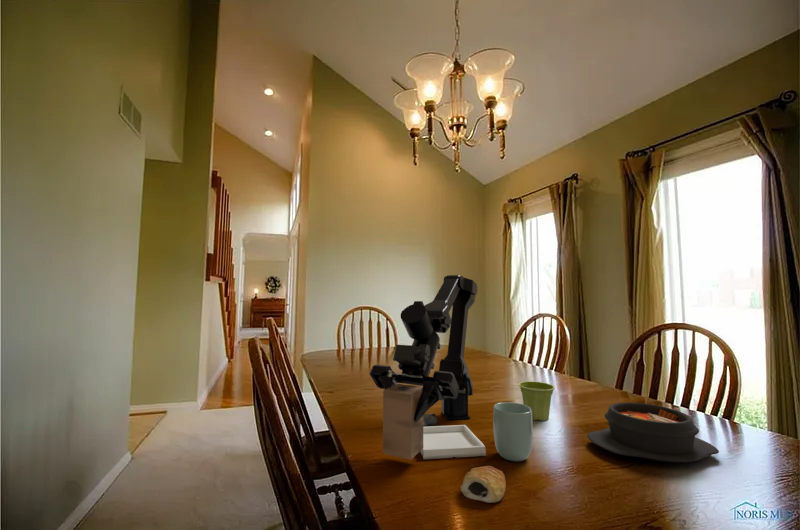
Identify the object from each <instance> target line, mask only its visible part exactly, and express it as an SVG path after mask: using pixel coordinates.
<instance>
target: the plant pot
mask: <svg viewBox="0 0 800 530" xmlns="http://www.w3.org/2000/svg"><path fill="white" fill-rule="evenodd" d="M518 386H519V388H520V392H521V395H522V402H523V403H522V404H523V405H526V406H528V407H530V408H531V410H532V421H537V420H539V421H541V422H543V421H548V420H549V419H550V411H551V402H552V395H553V393H554V390H555V388H556V387H555V386H554V385H553V384H550V383H548V382H543V381H535V380H534V381H532V380H529V381H527V380H525V381H521V382H519V383H518Z"/></svg>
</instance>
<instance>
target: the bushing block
mask: <svg viewBox="0 0 800 530" xmlns="http://www.w3.org/2000/svg"><path fill="white" fill-rule="evenodd" d="M422 391H423V386H418V385H410V384H404V383H398V384H396V385H394V386H392V387H389V388H387V389H383V392H382V393H383V396H382V397H383V398H382V399H383V402H382V403H383V405H382V407H383V408H382V409H383V411H382V454H383V455H388V456H392V457H396V458H401V459H405V460H410V461H411V460H412V459H414V457H416V456H417V455H418V453H420V451H421V450H422V449H423V416H424V415H423V416H422V417H421V418H420V419H419V420H418V421H417V422H415V420H414V416H415V412H416V409H417V406H418V403H419V400H420V397H421V395H422Z"/></svg>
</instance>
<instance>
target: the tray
mask: <svg viewBox="0 0 800 530" xmlns="http://www.w3.org/2000/svg"><path fill="white" fill-rule="evenodd" d="M486 450H487V449H486V446H485V445H484V443H483V442H482V441H481V440H480V439H479V438H478V437H477V436H476V434H474V433H473V431H472V430H471V429H470V428H469V427H468V426H467V425H466V424H457V425H454V424H452V425H431V426H425V427H423V449H422V450H421V451H420V452H419V453H420V454H421V457H422V459H423V460H433V459H434V460H436V459H450V458H451V459H452V458H453V457H455V458H467V457H468V458H471V457H485V456H486V455H487V453H486V452H487V451H486ZM453 459H454V458H453Z"/></svg>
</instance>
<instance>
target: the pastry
mask: <svg viewBox="0 0 800 530" xmlns="http://www.w3.org/2000/svg"><path fill="white" fill-rule="evenodd" d="M506 488H507V482H506V476H505V473H504V472H503V471H502V470H500V469H498V468H495V467H494V466H491V465H485V466H479V467H472V468H471V469H470V471H467V472H466V473H465V475H464V477H463V482H462V484H461V485H460V491H461V493H462V494H463V496H464V497H466V498H468V499H470V500H475V501H481V502H484V503H488V504H491V503H493V504H496V503H498V502H501V500H502V499H503V497H504V496H505V491H506Z"/></svg>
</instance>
